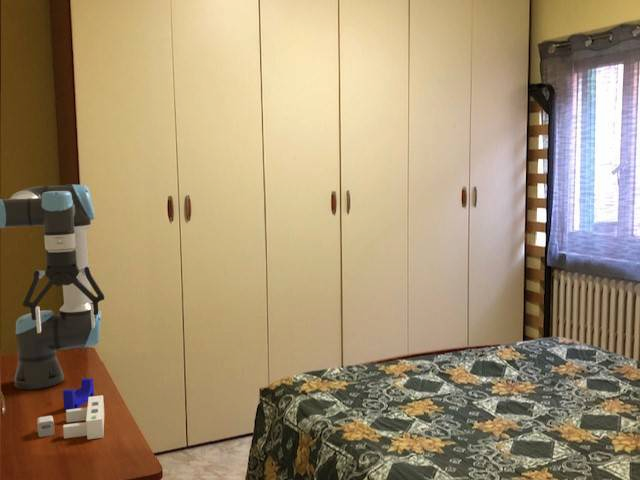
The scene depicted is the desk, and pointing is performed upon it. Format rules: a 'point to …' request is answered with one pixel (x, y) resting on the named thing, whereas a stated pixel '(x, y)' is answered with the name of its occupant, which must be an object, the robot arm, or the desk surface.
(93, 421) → the dock
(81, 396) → the cable clip
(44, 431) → the usb wall charger
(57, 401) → the desk surface
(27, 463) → the desk surface
